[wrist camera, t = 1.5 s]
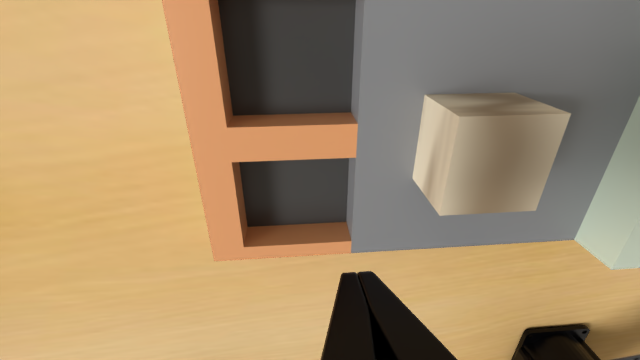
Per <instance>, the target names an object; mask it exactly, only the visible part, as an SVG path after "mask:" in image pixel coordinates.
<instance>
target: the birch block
mask: <svg viewBox="0 0 640 360" xmlns="http://www.w3.org/2000/svg"><path fill="white" fill-rule="evenodd" d="M570 116H571V113H568V112H565V111H563V110H560V109H557V108H555V107H552V106H549V105H547V104H544V103H541V102H539V101H536V100H533V99H531V98H528V97H525V96H523V95H520V94H517V93H472V94H430V95H425V96H424V103H423V109H422V116H421V123H420V130H419V137H418V144H417V150H416V157H415V164H414V171H413V180H414V181H415V183H416V184H417V185H418V187H419V188H420V189H421V191H422V192H423V194H424V195H425V196H426V198H427V199H428V200H429V202H430V203H431V205H432V206H433V207H434V209H435V210H436V211H437V213H438V214H439V216H444V215H464V214H483V213H502V212H521V211H536V209H537V206H538V203H539V200H540V198H541V195H542V192H543V189H544V187H545V184H546V181H547V178H548V176H549V173H550V170H551V168H552V165H553V162H554V159H555V157H556V154H557V151H558V148H559V146H560V143H561V140H562V137H563V135H564V132H565V129H566V127H567V124H568V121H569V118H570Z"/></svg>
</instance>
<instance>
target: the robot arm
mask: <svg viewBox="0 0 640 360" xmlns="http://www.w3.org/2000/svg"><path fill="white" fill-rule="evenodd" d="M589 331H590V330H589V329H588V327H587V326H585V325H579V326H566V327H554V328H542V329H529V330H526V331H525V332H524V333H523V335H522V337H521V339H520V341H519V344H518V346H517V348H516V351H515V353H514V355H513V358H512V360H600V359H599V357H598V356H597V355H596V354H595V353H594V352H593V351H592V349H591V348H590V347H589V346H588V345H587V344H586V343H585V342H584V340H585V338H586V337H587V335H588V333H589ZM321 360H457V359H456V358H455V357H454V356H453V355H452V354H451V353H450V352H449V350H448V349H447V348H446V347H445V346H444V345H443V344H442V343H441V342H440V341H439V340H438V339H437V338H436V337H435V336H434V335H433V334H432V333H431V332H430V331H429V330H428V329H427V328H426V327H425V325H424V324H423V323H422V322H421V321H420V320H419V319H418V318H417V317H416V316H415V315H414V314H413V313H412V312H411V311H410V310H409V309H408V308H407V307H406V306H405V305H404V304H403V303H402V302H401V301H400V299H399V298H398V297H397V296H396V295H395V294H394V293H393V292H392V291H391V290H390V289H389V288H388V287H387V286H386V285H385V284H384V283H383V282H382V281H381V280H380V279H379V278H378V277H377V276H376V275H375V273H373V272H371V271H366V272H359V273H355V272H351V273H343V274H342V275H341V278H340V282H339V286H338V290H337V294H336V299H335V303H334V307H333V311H332V315H331V319H330V323H329V328H328V332H327V336H326V340H325V344H324V348H323V352H322V357H321Z"/></svg>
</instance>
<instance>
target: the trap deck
mask: <svg viewBox="0 0 640 360" xmlns="http://www.w3.org/2000/svg"><path fill="white" fill-rule="evenodd" d="M162 3H163V8H164V13H165V18H166V23H167V28H168V33H169V38H170V43H171V48H172V53H173V58H174V63H175V68H176V73H177V78H178V83H179V88H180V93H181V98H182V103H183V108H184V113H185V118H186V123H187V128H188V133H189V138H190V143H191V148H192V153H193V157H194V162H195V167H196V172H197V177H198V182H199V187H200V192H201V197H202V202H203V207H204V212H205V217H206V222H207V227H208V232H209V237H210V242H211V247H212V252H213V257H214V261H226V260H242V259H259V258H276V257H293V256H310V255H326V254H343V253H360V252H377V251H394V250H410V249H427V248H444V247H461V246H478V245H494V244H511V243H528V242H545V241H562V240H575V241H576V242H578V243H579V244H580V245H581V246H583V247H584V248H585V249H586V250H588V251H589V252H590V253H591V254H592V255H594V256H595V257H596V258H597V259H599V260H600V261H601V262H602V263H604V264H605V265H606V266H607V267H609V268H610V269H611V270H615V269H630V268H640V0H162ZM472 93H517V94H520V95H523V96H525V97H528V98H531V99H533V100H536V101H539V102H541V103H544V104H547V105H549V106H552V107H555V108H557V109H560V110H563V111H565V112H568V113H571V116H570V118H569V121H568V124H567V127H566V129H565V132H564V135H563V137H562V140H561V143H560V146H559V148H558V151H557V154H556V157H555V159H554V162H553V165H552V168H551V170H550V173H549V176H548V178H547V181H546V184H545V187H544V189H543V192H542V195H541V198H540V200H539V203H538V206H537V209H536V211H521V212H502V213H483V214H464V215H444V216H439V214H438V213H437V211H436V210H435V209H434V207H433V206H432V205H431V203H430V202H429V200H428V199H427V198H426V196H425V195H424V194H423V192H422V191H421V189H420V188H419V187H418V185H417V184H416V183H415V181H414V180H413V171H414V164H415V157H416V150H417V144H418V137H419V130H420V123H421V116H422V109H423V103H424V96H425V95H430V94H472Z"/></svg>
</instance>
